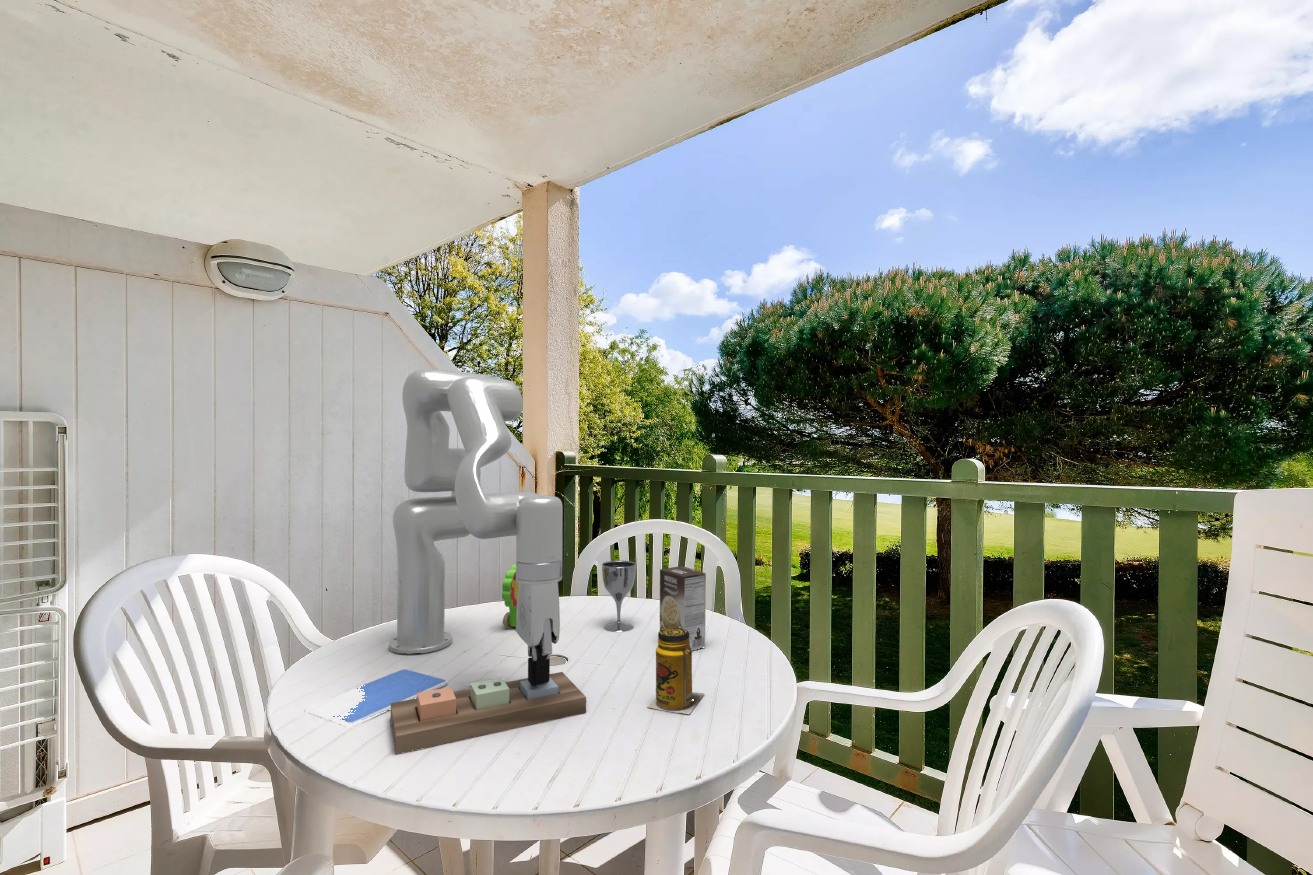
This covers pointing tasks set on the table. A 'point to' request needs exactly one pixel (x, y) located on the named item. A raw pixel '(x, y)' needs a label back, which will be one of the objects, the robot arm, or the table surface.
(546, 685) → the button three dots
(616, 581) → the wine glass
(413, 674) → the blue rectangular pad
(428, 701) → the button one dot
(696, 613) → the coffee box
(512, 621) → the green wooden toy car
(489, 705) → the button two dots
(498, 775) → the table surface
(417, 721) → the button board
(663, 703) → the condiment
